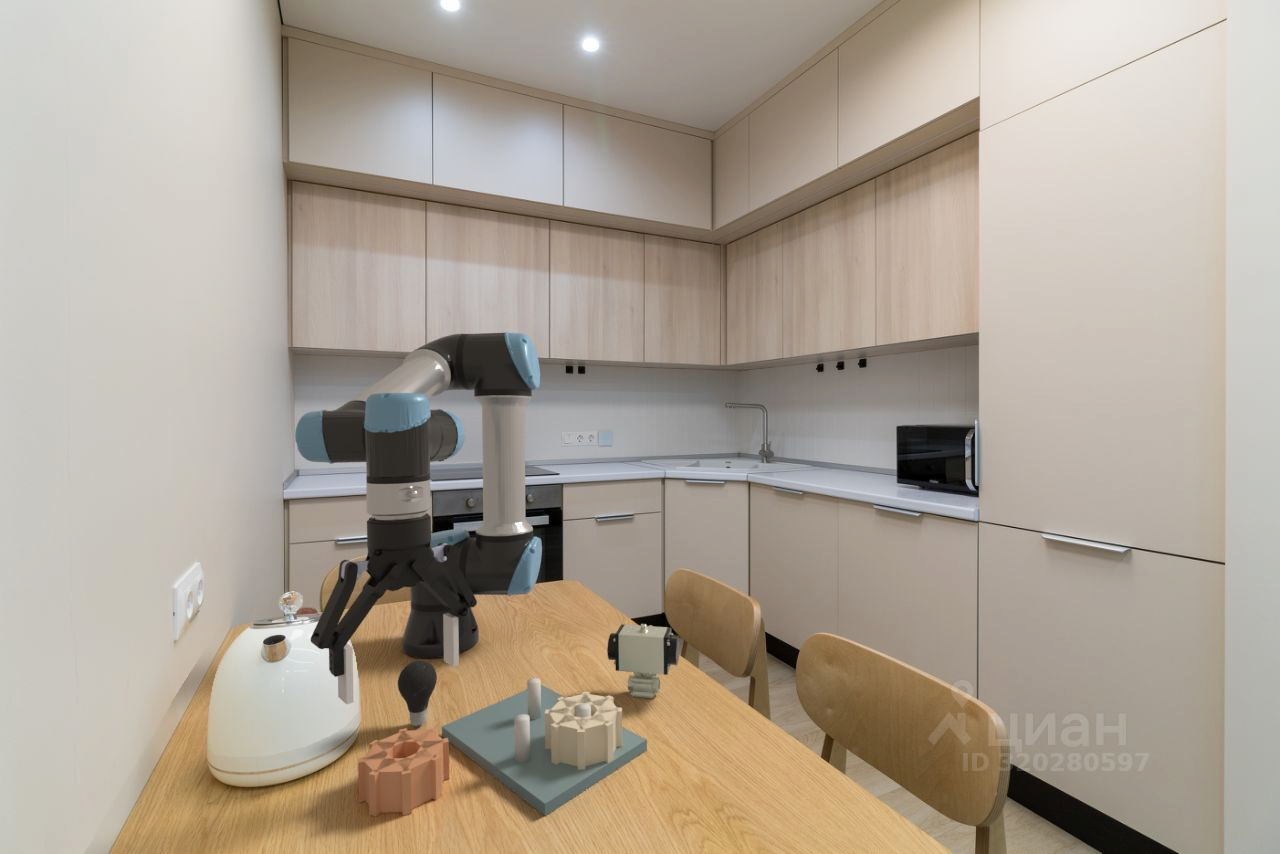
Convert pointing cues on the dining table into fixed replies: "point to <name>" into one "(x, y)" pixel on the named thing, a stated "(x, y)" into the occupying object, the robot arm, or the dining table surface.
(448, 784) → the dining table surface
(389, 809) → the loose gear
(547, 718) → the gear board
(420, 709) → the light bulb
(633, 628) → the pneumatic valve
